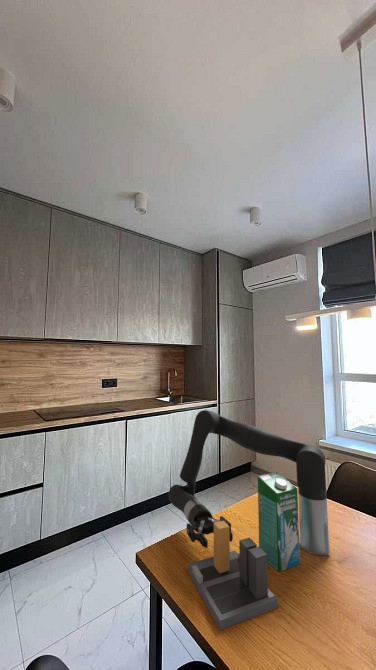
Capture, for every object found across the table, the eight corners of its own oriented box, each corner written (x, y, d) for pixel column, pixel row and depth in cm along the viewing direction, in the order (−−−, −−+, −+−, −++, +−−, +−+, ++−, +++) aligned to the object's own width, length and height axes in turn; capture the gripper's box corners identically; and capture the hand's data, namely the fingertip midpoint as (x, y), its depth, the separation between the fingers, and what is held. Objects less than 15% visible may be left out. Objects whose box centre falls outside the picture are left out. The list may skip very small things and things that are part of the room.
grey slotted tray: (235, 556, 90) (235, 517, 92) (277, 607, 72) (276, 557, 73) (187, 570, 84) (187, 528, 85) (220, 630, 65) (220, 574, 67)
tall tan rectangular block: (223, 562, 84) (223, 520, 86) (229, 570, 81) (229, 526, 82) (213, 565, 83) (213, 522, 84) (219, 573, 80) (219, 529, 81)
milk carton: (279, 572, 84) (276, 485, 87) (258, 554, 92) (257, 475, 95) (300, 563, 88) (297, 480, 91) (279, 546, 96) (277, 471, 99)
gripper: (179, 507, 97) (198, 533, 82) (215, 500, 102) (239, 523, 87) (178, 530, 96) (198, 560, 81) (215, 522, 101) (239, 549, 86)
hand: (219, 541), depth 84 cm, fingers open, 8 cm apart
